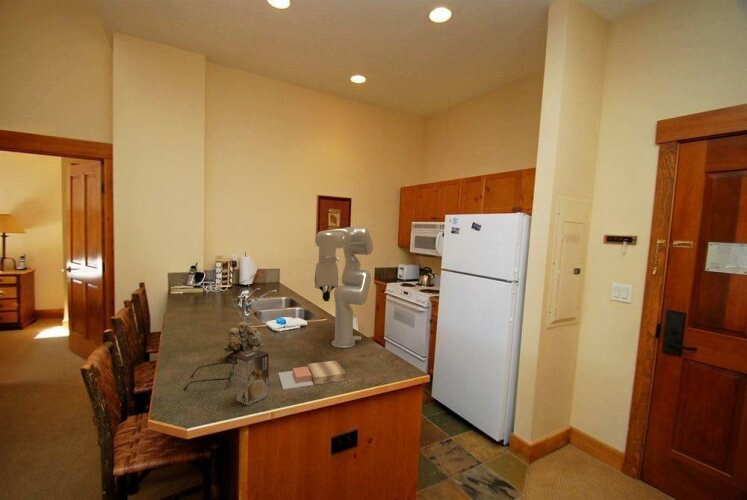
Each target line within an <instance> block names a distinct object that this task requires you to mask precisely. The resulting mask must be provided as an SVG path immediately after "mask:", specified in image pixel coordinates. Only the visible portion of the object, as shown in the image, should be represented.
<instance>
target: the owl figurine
mask: <svg viewBox="0 0 747 500" xmlns="http://www.w3.org/2000/svg"><path fill="white" fill-rule="evenodd" d="M261 335H262V334H261V333H260V332H259V330H258V328H257V327H251V328H249V329H248V323H247V322H245V321H241V322H239V323H238V324H237V325H236V327H233V328H230V329H229V331H228V337H227V344H225V345H224V346H223V347H222V349H223V350H224V352H231V353H229V354H228V355H226V356H225V358H224V361H225V362H231V361H235V365H237V357H239V356H241V355H244V354H247V353H250V352H253V351H256V350H259V351H261V349H263V347H264V346H265V345H264V343H262V336H261ZM230 364H232V365H233V364H234V363H230Z"/></svg>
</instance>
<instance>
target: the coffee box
mask: <svg viewBox="0 0 747 500" xmlns="http://www.w3.org/2000/svg"><path fill="white" fill-rule="evenodd" d="M259 350H260V349H259ZM259 350H256V351H253V352H250V353H247V354H244V355H241V356H239V357H237V364H236V401H237V402H238V401H239V402H238V403H240V402H241V404H243V403H244V404H243V405H245V404H246V405H245V406H247V405H249V406H250V404H251V405H252V403H253V404H255V403H257V402H259V401H261V400H262V399H264V398H265V399H266V398H267V397H268V396H269V392H270V391H269V389H270V387H269V385H270V384H269V382H270V381H269V379H270V378H269V373H270V371H269V369H270V368H269V366H270V364H269V363H270V362H269V358H270V357H269V355H270V354H269V352H266V351H262V350H260V351H259ZM256 401H257V402H256ZM254 402H255V403H254Z"/></svg>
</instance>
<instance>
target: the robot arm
mask: <svg viewBox="0 0 747 500" xmlns="http://www.w3.org/2000/svg"><path fill="white" fill-rule="evenodd" d="M314 243H315V244H316V246H317V247H318V262H317V263H316V264H315V270H314V288H315V289H317V290H318V289H319V290H320V291H321V292H322V300H323V301H324V302H329V301H330V299H331V293H332V290H333V291H334V292H333V297H334V308H335V310H334V311H335V312H334V313H335V318H334V320H335V322H334V339H333V340H332V341H331V345H332V346H333V347H335V348H339V349H347V348H348V349H349V348H353V347H354V346H356V341H362V336H360V335H359V336H358V335H354V334H353V333H354V332H353V331H354V310H353V308H352V306H351V305H358V306H362V305H365V304H366V302H367V298H368V294H369V290H370V286H371V280H372V278H371V277H372V276H371V273H370V271H369V270H366V269H361V262H360V260H359V259H358V257H357V256H356V255H358V256H359V255H363V256H368V255H371V254H372V253H373V251H374V244H373V243H374V242H373V239H372V236H371V234H370V231H369V230H368V228H366V227H363V226H359V227H358V226H346V227H344V228H336V229H326V230H321V231H318V232H317V234H316V235H315V239H314ZM337 249H343V255H344V259H345V264H344V267H343V271H342V274H341V284H342V285H339V269H338V264H337V261H339V260H340V258H339V257H337ZM326 287H327V288H326Z"/></svg>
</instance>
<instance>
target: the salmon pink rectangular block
mask: <svg viewBox="0 0 747 500" xmlns="http://www.w3.org/2000/svg"><path fill="white" fill-rule="evenodd" d="M292 371H293V375H294V378H295V381H296V383H301V382H308V381H312V375H311V373H310V371H309V369H308V367H307V365H306V366H299V367H292ZM312 382H313V381H312Z"/></svg>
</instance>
